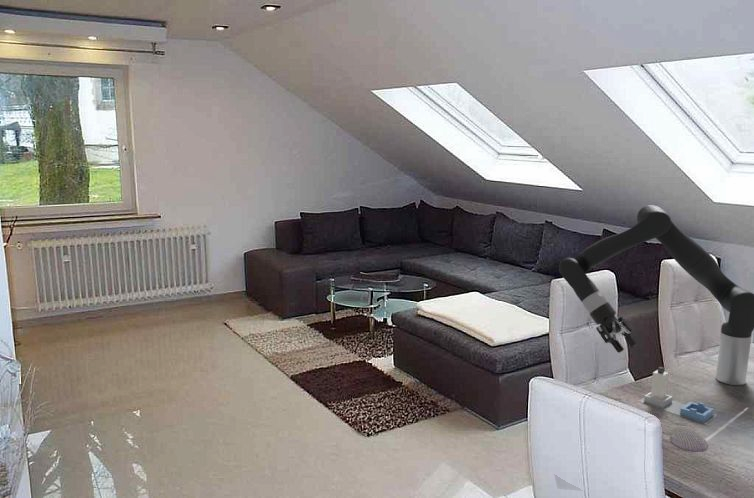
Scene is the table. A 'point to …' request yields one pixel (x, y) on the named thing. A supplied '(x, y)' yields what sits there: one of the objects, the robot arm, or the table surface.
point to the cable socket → (682, 408)
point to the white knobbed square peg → (659, 384)
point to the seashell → (688, 439)
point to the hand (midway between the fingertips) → (627, 348)
